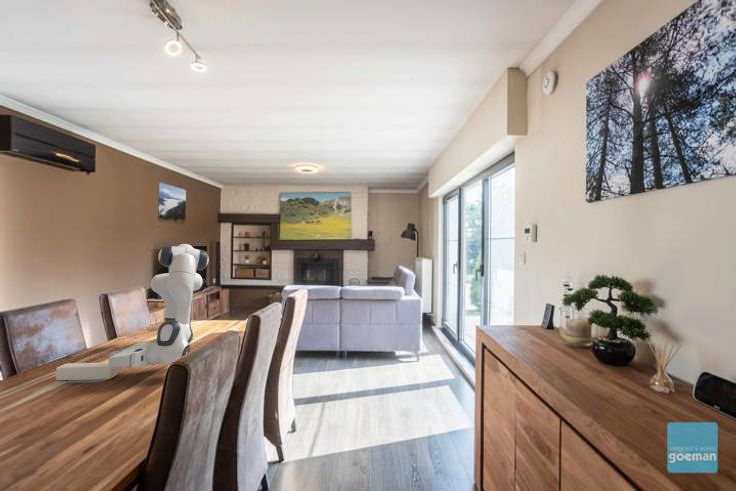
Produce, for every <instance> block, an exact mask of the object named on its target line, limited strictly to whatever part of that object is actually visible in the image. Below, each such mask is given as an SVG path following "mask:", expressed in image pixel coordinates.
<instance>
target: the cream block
mask: <svg viewBox="0 0 736 491" xmlns="http://www.w3.org/2000/svg"><path fill="white" fill-rule="evenodd" d="M118 372H119V367H110V366H109V361H108V362H73V363H70V362H69V363H64V364H62V365H60V366H57V367H56V369H55V380H56V381H70V380H86V379H108V380H111V379H112V378H114V377H115V376H117V375H119V373H118Z"/></svg>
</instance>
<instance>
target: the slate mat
mask: <svg viewBox="0 0 736 491" xmlns="http://www.w3.org/2000/svg"><path fill="white" fill-rule="evenodd" d="M119 373H120V372H119V371H118V374H119ZM108 380H109V379H86V380H67V381H66V382H65V383H66V384H88V383H89V384H90V383H91V384H98V383H105V382H107V381H108Z"/></svg>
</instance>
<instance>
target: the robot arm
mask: <svg viewBox="0 0 736 491" xmlns="http://www.w3.org/2000/svg"><path fill="white" fill-rule="evenodd" d="M158 261H159V264H160V265H161V266H163V267H167V268H169V269H168V272H167V273H166V272H165V273H160V274H159V273H158V274H155V275H154V276H153V277H152V278H151V281H150V288H151V289H152V291H154V292H153V293H156V294H158V295H159V296H160V297H161V298H162V299H163V302H164V306H165V316H164V321H163V322H162V323H161V324H160V325H159V326H158V329H157V331H156V332H157V334H156V342H144V343H143V342H140V343H135V344H132V345H131V346H129V347H127V348H126V349H122V350H114V351H112V352H110V353H108V362H109V366H110V367H118V368H131V369H138V368H141V367H144V366H151V365H157V364H159V365H172V364H171V363H172V362H174V361H175V360H177V359H179V358H181V357H182V356H184V355H186V354H188V353H189V352H190V353H191V345H190V344H191V343H192V340H195V339H196V337H195V336H194V332H193V330H192V324H191V321H192V320H191V319H192V318H191V317H192V308H193V295H194V292H196V291H198V290H200V289H201V288H202V286H203V277H202V276H201V274H199V273H197V271H203V270H205V269H206V267H207V266H208V264H209V261H210V260H209V254H208V252H207V251H205V250H203V249H198V248H194V247H193V246H192V245H191V244H188V243H181V244H179V245H177V246H173V245H164V246H162V248H161V249H160V250H159V253H158ZM190 353H189V354H190Z"/></svg>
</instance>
